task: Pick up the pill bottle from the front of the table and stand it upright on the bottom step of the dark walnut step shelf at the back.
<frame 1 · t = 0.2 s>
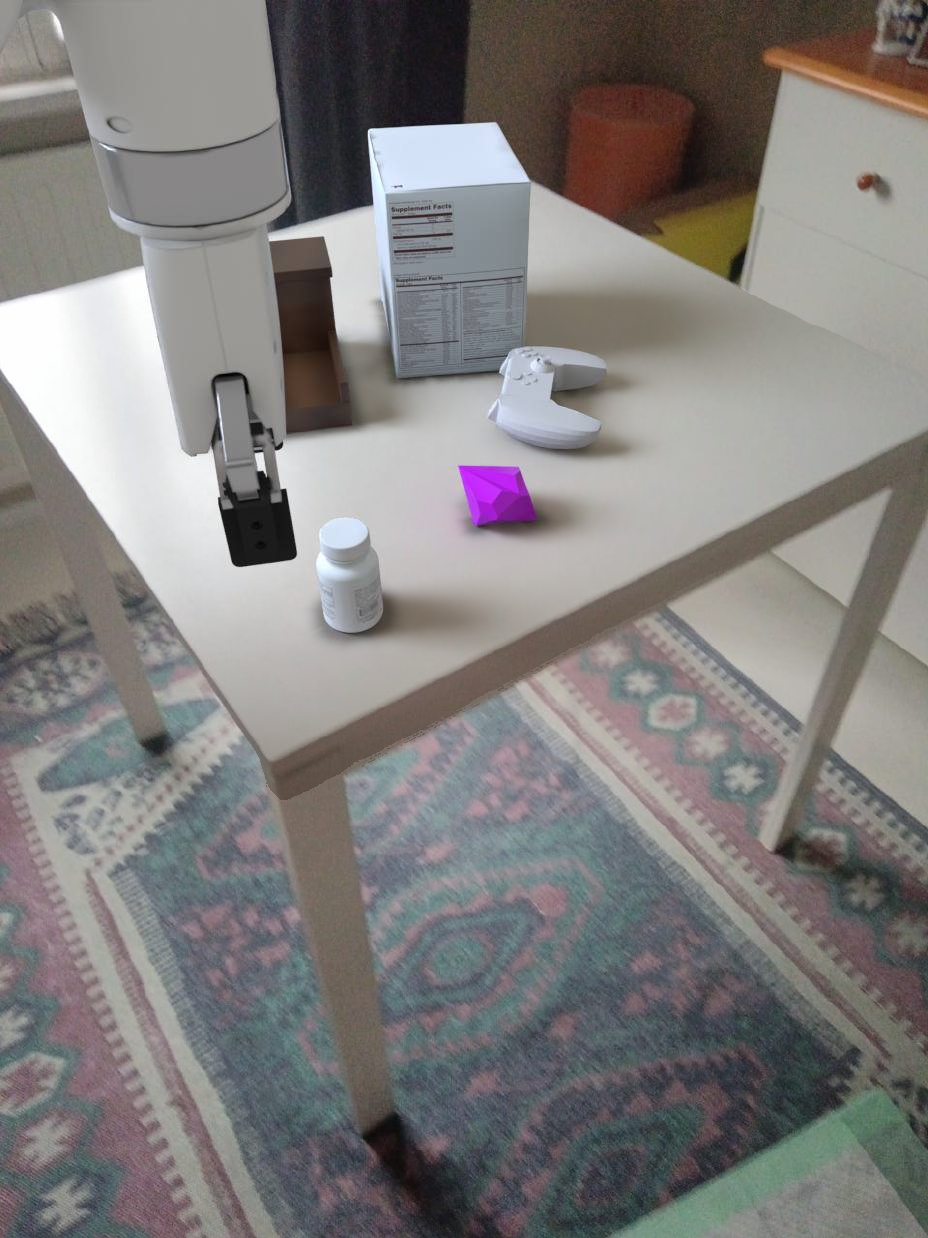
hand: (260, 501, 52), 18 cm above the table, tool pointing down, fingers open, 9 cm apart
game controller: (547, 415, 91), on the table
pill bottle: (353, 615, 72), on the table
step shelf: (270, 389, 95), on the table
supplement box: (449, 335, 103), on the table
crystal: (497, 518, 80), on the table
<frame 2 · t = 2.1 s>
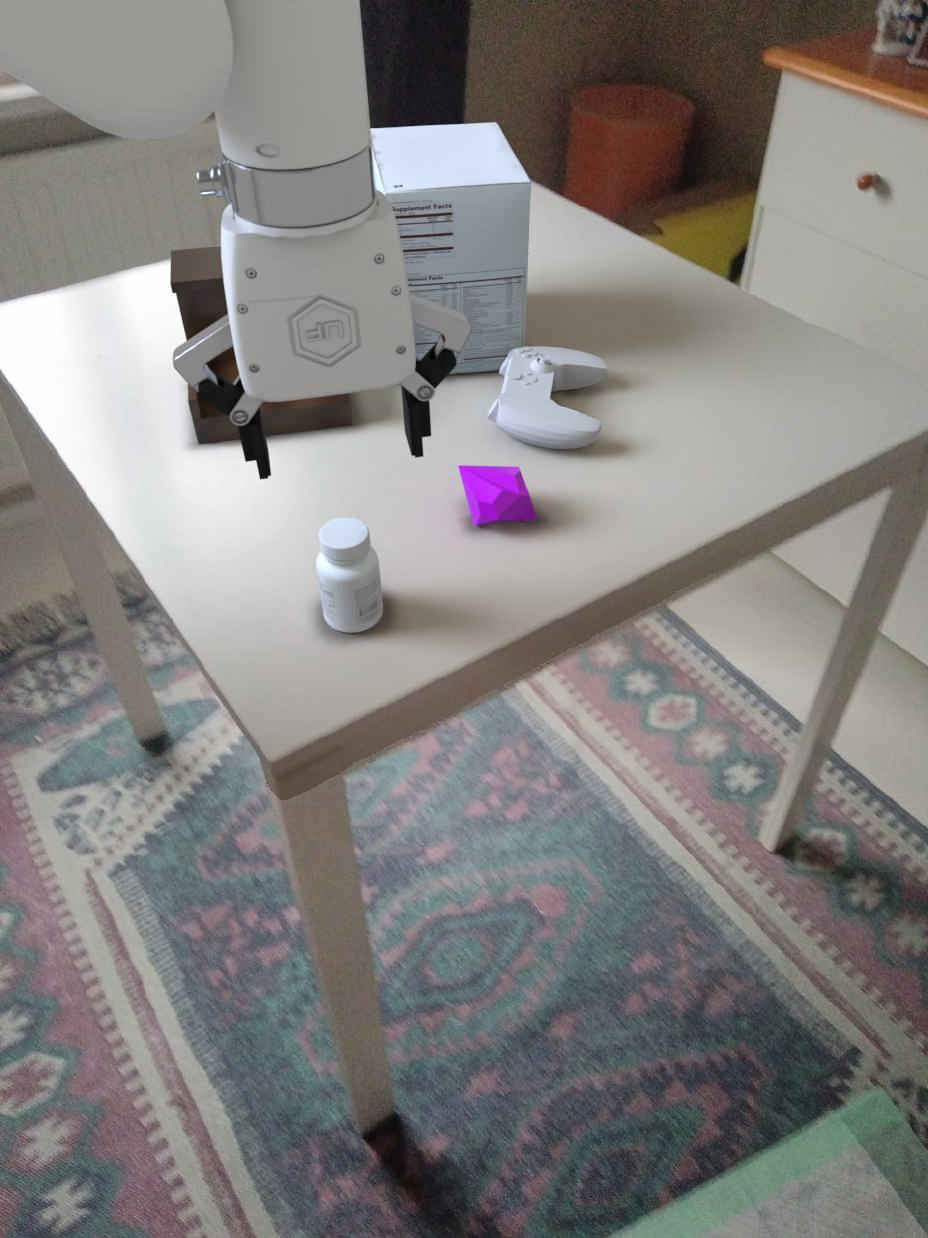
hand: (340, 455, 63), 14 cm above the table, tool pointing down, fingers open, 9 cm apart
nothing on the table moved.
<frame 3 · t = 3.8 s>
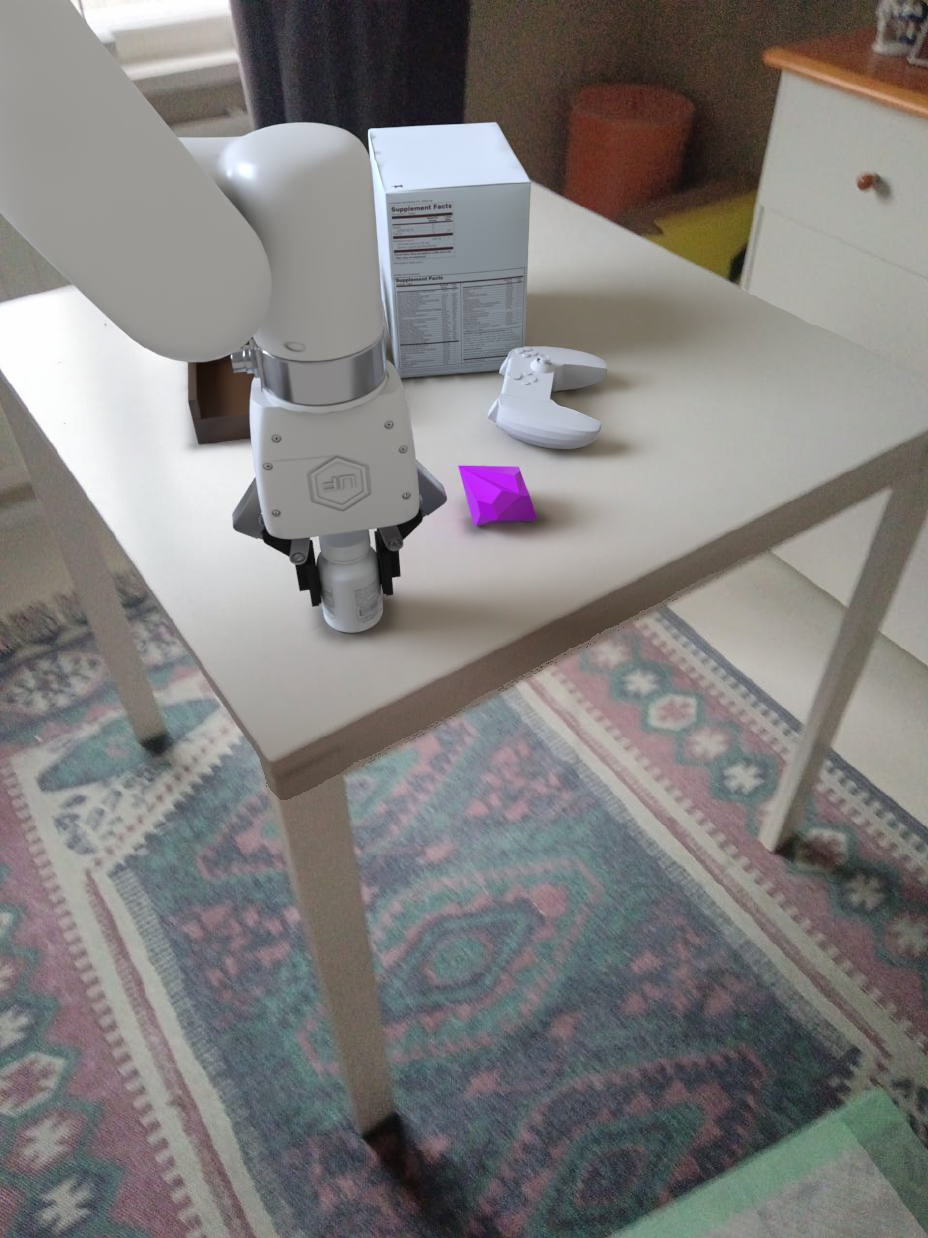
hand: (350, 586, 70), 3 cm above the table, tool pointing down, fingers closed on pill bottle, 4 cm apart
pill bottle: (353, 615, 72), on the table, touching gripper
everything else where it was.
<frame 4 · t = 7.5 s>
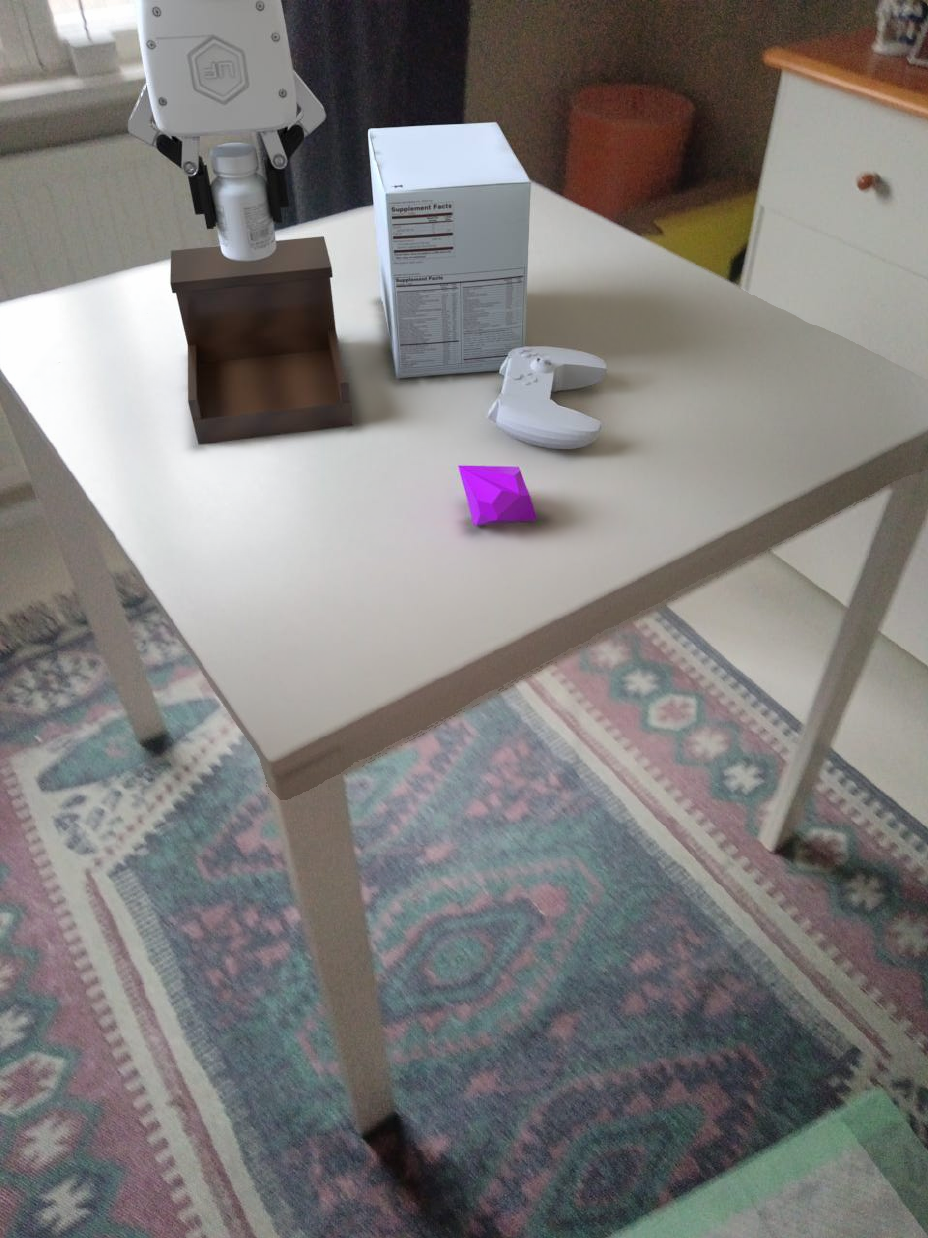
hand: (243, 216, 77), 19 cm above the table, tool pointing down, fingers closed on pill bottle, 4 cm apart
pill bottle: (249, 253, 79), point 16 cm above the table, touching gripper
everything else where it was.
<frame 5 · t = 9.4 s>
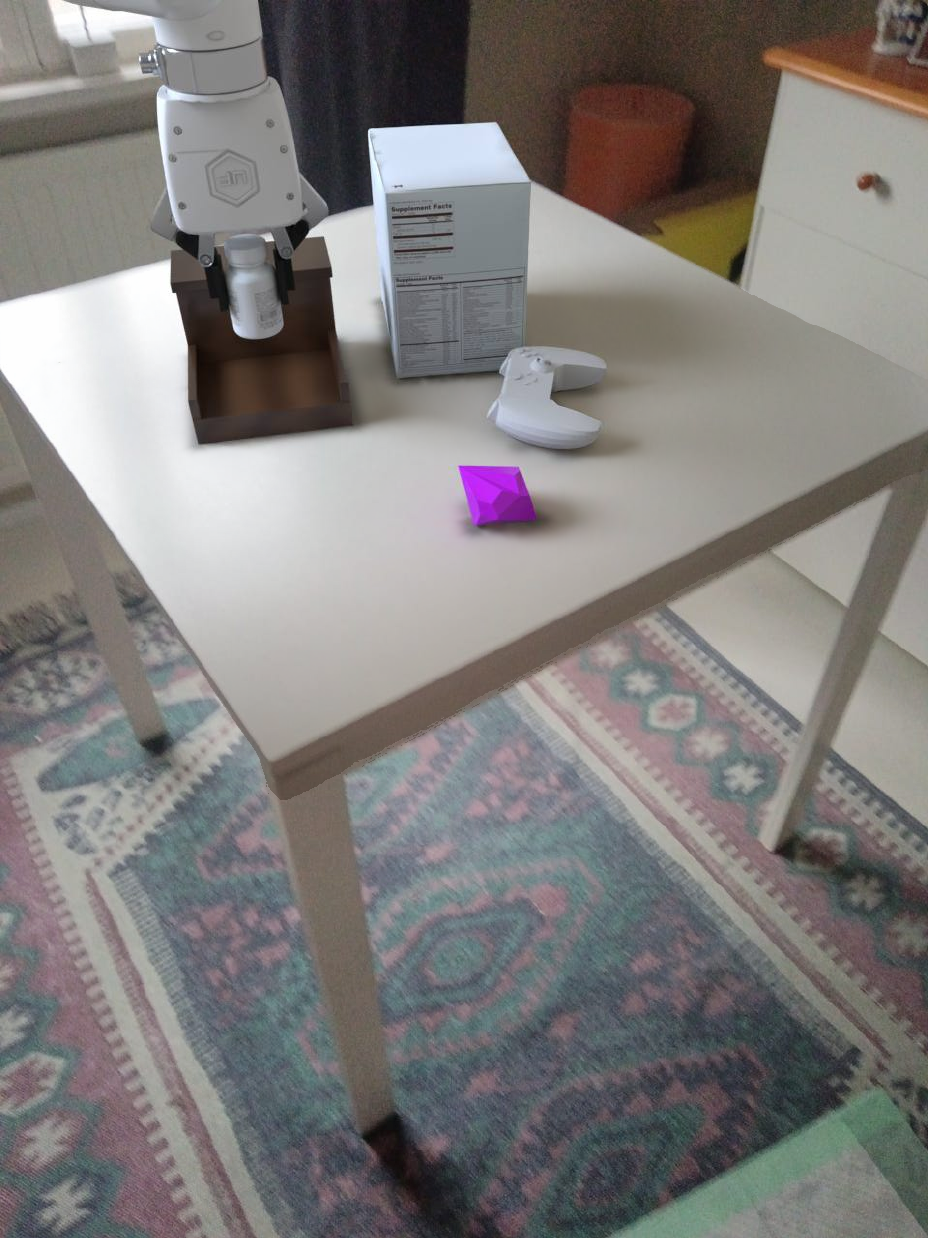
hand: (254, 299, 84), 11 cm above the table, tool pointing down, fingers closed on pill bottle, 4 cm apart
pill bottle: (259, 330, 86), point 8 cm above the table, touching gripper
everything else where it was.
when the fingers open (5 cm above the table, at t = 11.1 s): pill bottle stays where it is, resting on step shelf.
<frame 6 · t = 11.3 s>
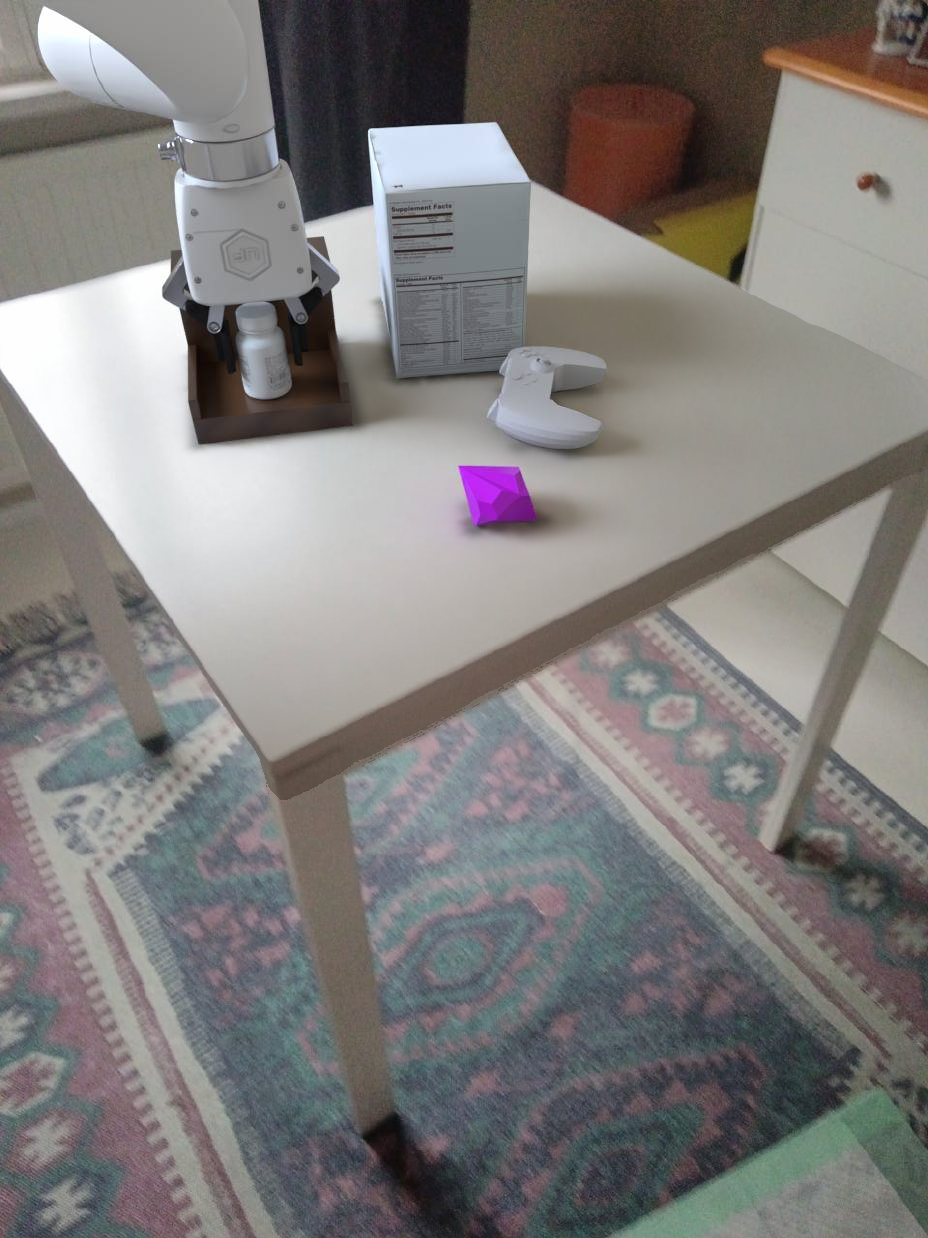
hand: (264, 360, 88), 5 cm above the table, tool pointing down, fingers open, 5 cm apart
pill bottle: (268, 390, 90), point 2 cm above the table, touching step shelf
everything else where it was.
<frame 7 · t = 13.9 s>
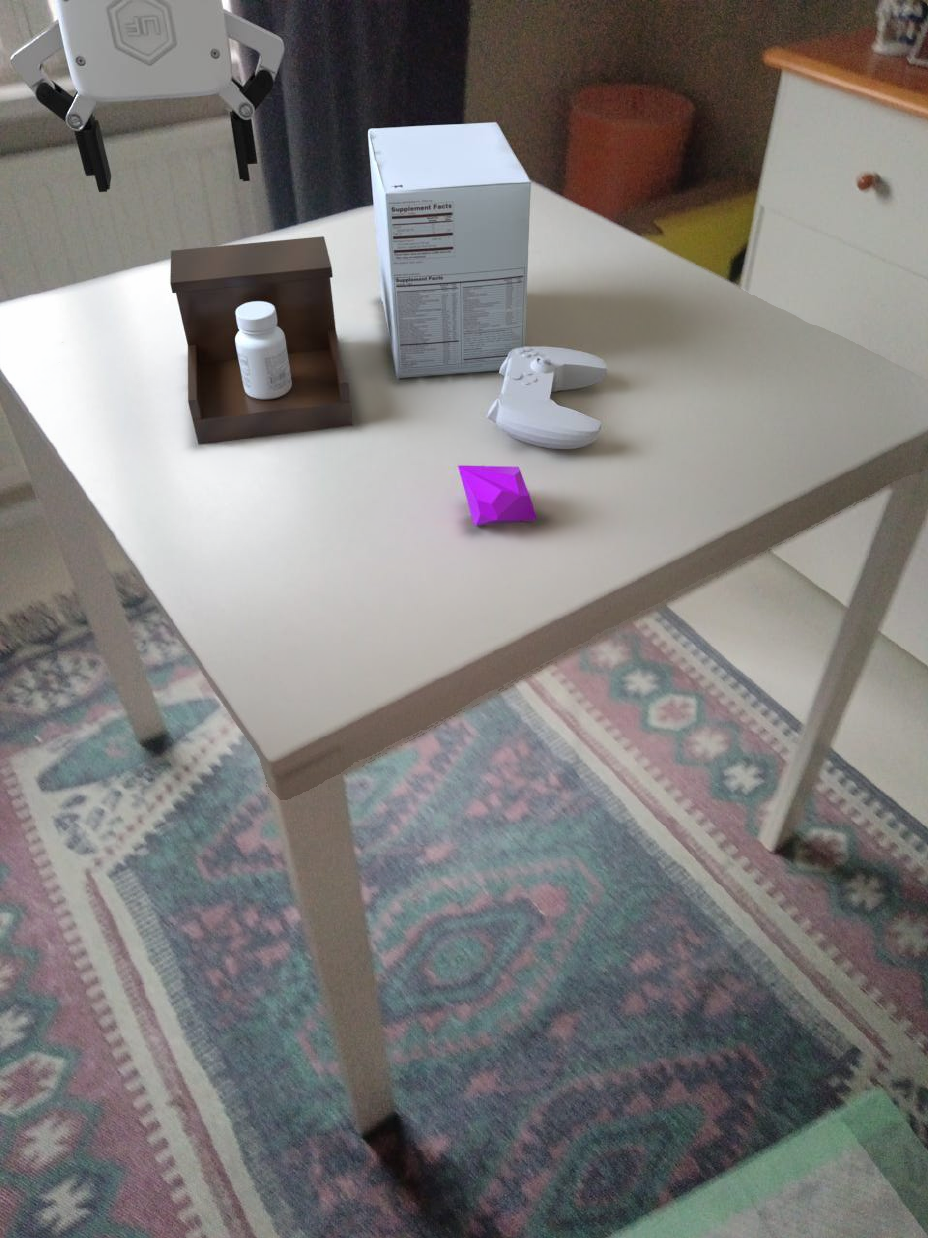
hand: (175, 179, 69), 24 cm above the table, tool pointing down, fingers open, 9 cm apart
nothing on the table moved.
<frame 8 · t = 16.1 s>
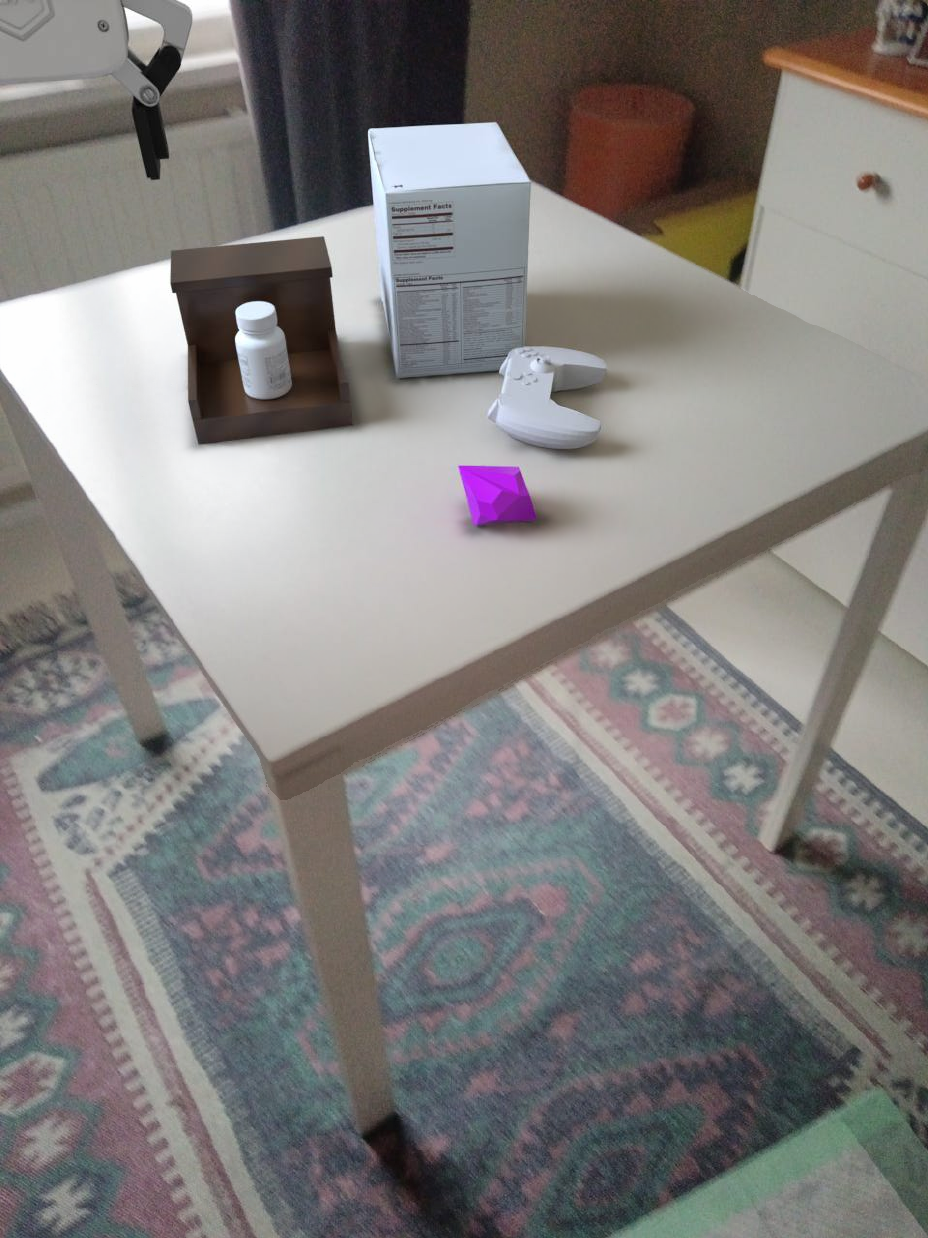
hand: (72, 178, 58), 28 cm above the table, tool pointing down, fingers open, 9 cm apart
nothing on the table moved.
at the end: pill bottle inside the target area on the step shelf (0.9 cm from its centre), point 2.3 cm above the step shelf's base; pill bottle tilted 0°; the gripper is holding nothing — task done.
